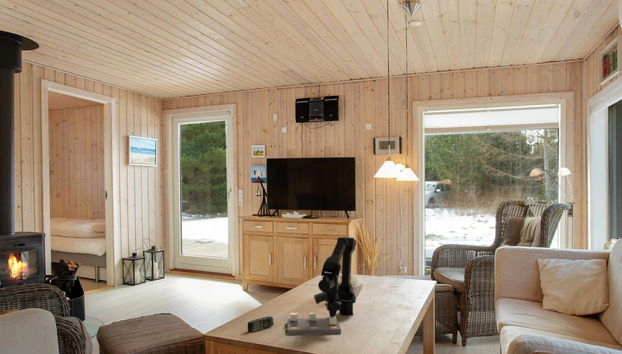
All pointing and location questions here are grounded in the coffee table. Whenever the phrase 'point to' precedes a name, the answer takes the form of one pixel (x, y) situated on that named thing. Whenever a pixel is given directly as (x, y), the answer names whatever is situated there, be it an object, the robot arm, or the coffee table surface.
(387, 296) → the coffee table surface
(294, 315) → the tab
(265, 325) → the mobile phone
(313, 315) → the tab middle
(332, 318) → the tab
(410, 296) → the coffee table surface
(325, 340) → the coffee table surface
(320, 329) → the switch plate
